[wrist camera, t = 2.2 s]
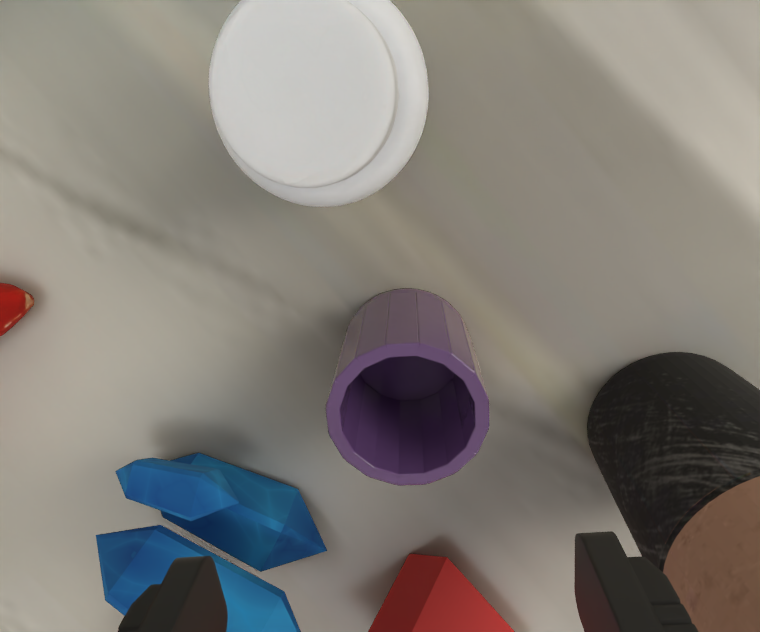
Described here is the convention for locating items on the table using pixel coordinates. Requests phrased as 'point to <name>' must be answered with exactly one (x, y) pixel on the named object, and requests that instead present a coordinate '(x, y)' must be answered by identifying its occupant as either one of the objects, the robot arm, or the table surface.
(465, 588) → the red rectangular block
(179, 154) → the table surface
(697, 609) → the travel mug
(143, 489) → the crystal
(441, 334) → the cup
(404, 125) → the supplement bottle
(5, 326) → the vegetable
